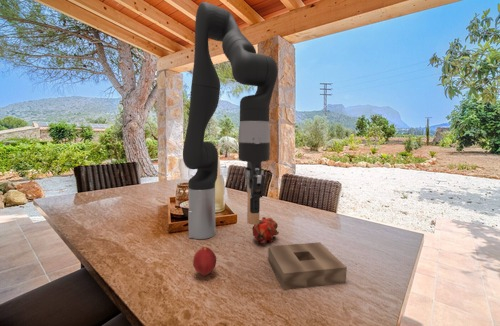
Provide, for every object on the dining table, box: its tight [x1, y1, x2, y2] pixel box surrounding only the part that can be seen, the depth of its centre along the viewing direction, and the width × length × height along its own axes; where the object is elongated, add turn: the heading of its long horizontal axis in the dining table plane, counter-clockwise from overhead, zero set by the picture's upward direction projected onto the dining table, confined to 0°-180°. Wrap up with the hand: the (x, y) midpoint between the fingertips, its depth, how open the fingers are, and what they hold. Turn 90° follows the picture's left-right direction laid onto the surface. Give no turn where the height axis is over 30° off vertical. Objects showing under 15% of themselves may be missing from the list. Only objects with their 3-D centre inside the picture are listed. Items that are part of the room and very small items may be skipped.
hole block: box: [267, 241, 348, 290], centre depth 64 cm, size 16×14×4 cm
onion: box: [192, 245, 217, 276], centre depth 62 cm, size 6×6×8 cm
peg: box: [246, 184, 260, 226], centre depth 60 cm, size 3×3×10 cm
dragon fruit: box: [251, 217, 280, 245], centre depth 82 cm, size 8×8×12 cm
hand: (253, 210), depth 60 cm, fingers closed on peg, 3 cm apart
